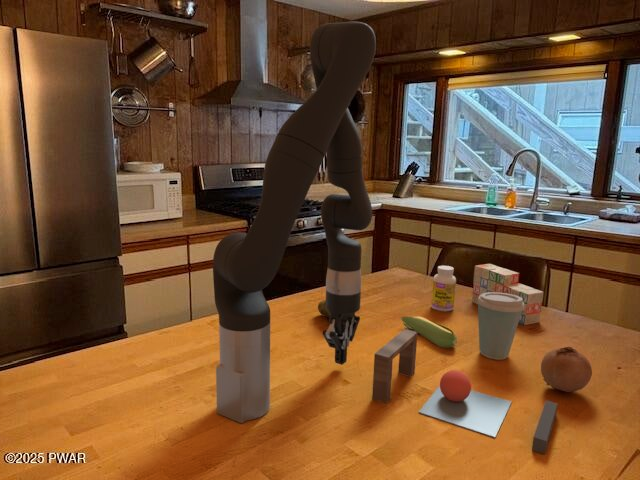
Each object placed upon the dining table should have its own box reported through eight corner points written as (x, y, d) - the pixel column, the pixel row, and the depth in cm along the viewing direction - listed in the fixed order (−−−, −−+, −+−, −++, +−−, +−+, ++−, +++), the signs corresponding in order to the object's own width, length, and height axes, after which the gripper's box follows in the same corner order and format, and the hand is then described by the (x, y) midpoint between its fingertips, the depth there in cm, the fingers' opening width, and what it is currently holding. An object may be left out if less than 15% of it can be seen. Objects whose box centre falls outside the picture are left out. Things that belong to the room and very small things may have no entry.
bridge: (386, 403, 96) (388, 357, 94) (372, 398, 98) (374, 353, 96) (414, 373, 109) (417, 332, 106) (401, 369, 110) (404, 328, 108)
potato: (343, 312, 145) (344, 286, 143) (357, 329, 132) (358, 300, 131) (315, 314, 142) (316, 287, 141) (327, 331, 130) (328, 302, 129)
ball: (432, 382, 96) (445, 410, 96) (461, 374, 94) (474, 403, 94) (437, 369, 102) (450, 396, 102) (465, 361, 99) (477, 389, 99)
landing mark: (495, 438, 86) (495, 437, 86) (418, 412, 93) (418, 411, 93) (511, 402, 98) (511, 401, 98) (442, 382, 105) (442, 381, 105)
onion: (560, 405, 97) (566, 358, 95) (528, 382, 106) (533, 339, 104) (599, 400, 100) (606, 354, 97) (565, 377, 108) (571, 335, 106)
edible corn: (446, 353, 119) (447, 336, 118) (396, 325, 137) (397, 309, 136) (462, 350, 122) (463, 332, 121) (411, 322, 139) (412, 306, 138)
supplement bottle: (430, 310, 148) (433, 269, 145) (431, 303, 154) (434, 263, 151) (453, 313, 146) (456, 271, 143) (453, 306, 152) (457, 265, 149)
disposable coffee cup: (462, 348, 122) (468, 290, 119) (497, 342, 126) (504, 286, 123) (491, 367, 112) (498, 304, 109) (528, 360, 116) (536, 300, 113)
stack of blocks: (540, 323, 141) (545, 281, 138) (524, 326, 138) (529, 283, 135) (486, 299, 160) (489, 262, 157) (471, 302, 157) (474, 264, 154)
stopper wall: (544, 454, 82) (546, 441, 81) (531, 450, 83) (533, 437, 82) (555, 415, 94) (557, 403, 93) (544, 412, 95) (546, 400, 94)
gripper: (343, 299, 98) (340, 379, 102) (372, 283, 109) (369, 356, 113) (311, 292, 102) (310, 369, 106) (343, 277, 113) (340, 348, 117)
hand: (340, 362), depth 109 cm, fingers closed
